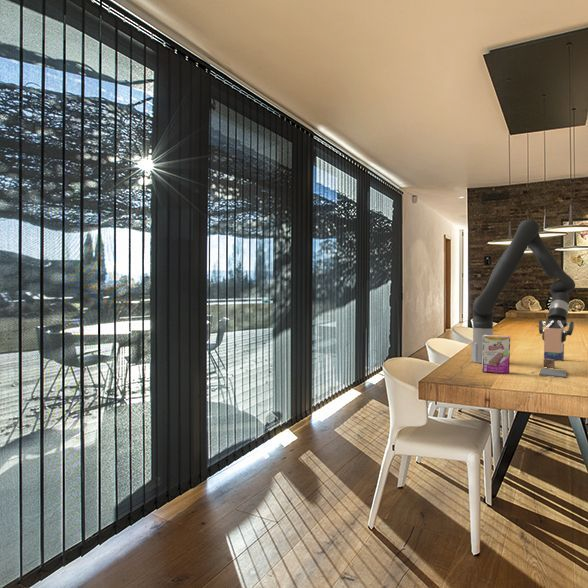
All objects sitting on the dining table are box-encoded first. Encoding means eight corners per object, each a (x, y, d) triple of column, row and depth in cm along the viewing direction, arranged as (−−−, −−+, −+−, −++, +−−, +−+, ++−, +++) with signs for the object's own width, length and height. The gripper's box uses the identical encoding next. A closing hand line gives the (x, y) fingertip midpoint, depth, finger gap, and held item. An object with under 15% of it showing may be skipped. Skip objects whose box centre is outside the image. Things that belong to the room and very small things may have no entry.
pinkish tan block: (544, 351, 209) (544, 328, 209) (546, 350, 214) (547, 327, 214) (560, 352, 205) (560, 329, 205) (563, 351, 210) (563, 328, 210)
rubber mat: (565, 378, 200) (565, 376, 200) (539, 375, 205) (539, 373, 205) (566, 372, 214) (566, 370, 214) (541, 370, 219) (541, 368, 219)
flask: (564, 360, 247) (564, 339, 247) (563, 361, 245) (563, 340, 245) (544, 358, 253) (544, 338, 253) (543, 359, 251) (543, 339, 250)
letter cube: (543, 368, 225) (543, 359, 225) (545, 366, 228) (545, 358, 228) (553, 369, 223) (553, 360, 223) (554, 367, 226) (554, 359, 226)
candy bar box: (482, 372, 212) (482, 335, 212) (481, 370, 217) (482, 334, 216) (509, 374, 208) (510, 336, 208) (508, 372, 213) (509, 335, 213)
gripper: (539, 306, 220) (534, 334, 211) (575, 307, 211) (571, 336, 202) (541, 317, 224) (536, 344, 215) (577, 318, 216) (573, 347, 207)
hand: (553, 340), depth 209 cm, fingers closed on pinkish tan block, 6 cm apart
